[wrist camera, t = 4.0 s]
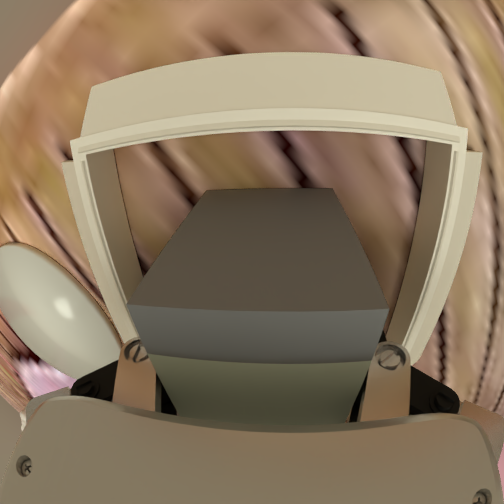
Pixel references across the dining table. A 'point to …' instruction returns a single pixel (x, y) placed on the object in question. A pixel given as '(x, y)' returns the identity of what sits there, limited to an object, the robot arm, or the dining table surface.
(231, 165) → the dining table surface
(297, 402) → the block
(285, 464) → the robot arm
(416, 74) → the beige square frame
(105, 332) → the cream round plate
